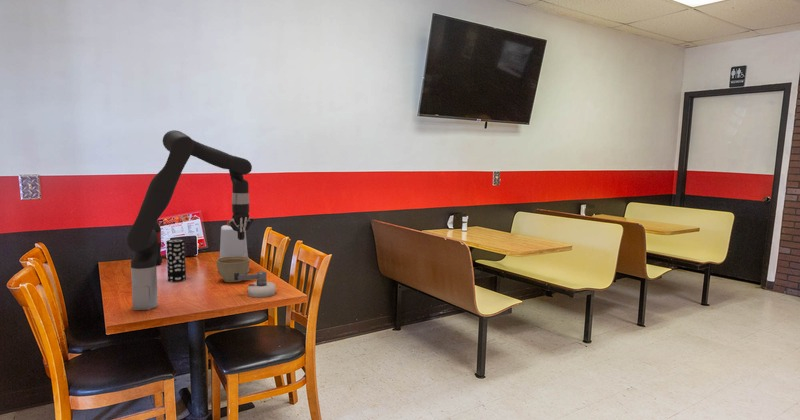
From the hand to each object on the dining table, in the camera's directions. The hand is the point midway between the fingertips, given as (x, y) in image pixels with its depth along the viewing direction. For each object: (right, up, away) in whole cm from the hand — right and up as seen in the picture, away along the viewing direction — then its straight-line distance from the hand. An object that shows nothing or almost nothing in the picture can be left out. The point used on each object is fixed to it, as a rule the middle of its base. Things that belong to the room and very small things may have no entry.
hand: (241, 239), depth 220 cm
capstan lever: (+5, -21, -2) cm, 21 cm away
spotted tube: (-39, -22, +20) cm, 49 cm away
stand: (+10, -25, -1) cm, 27 cm away
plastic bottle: (-17, -20, +38) cm, 46 cm away
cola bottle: (-66, -18, +49) cm, 84 cm away
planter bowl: (-11, -22, +21) cm, 32 cm away
